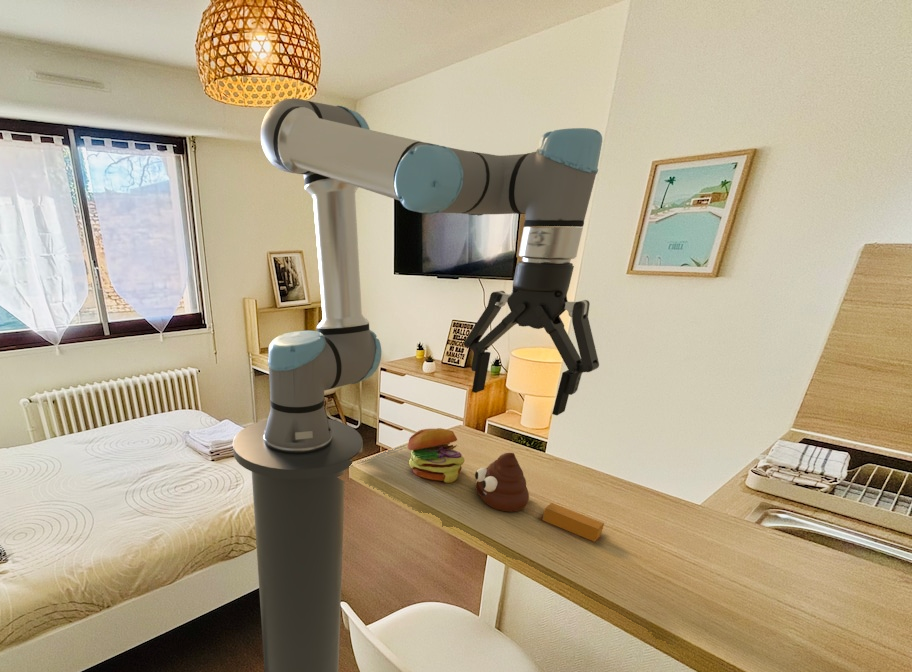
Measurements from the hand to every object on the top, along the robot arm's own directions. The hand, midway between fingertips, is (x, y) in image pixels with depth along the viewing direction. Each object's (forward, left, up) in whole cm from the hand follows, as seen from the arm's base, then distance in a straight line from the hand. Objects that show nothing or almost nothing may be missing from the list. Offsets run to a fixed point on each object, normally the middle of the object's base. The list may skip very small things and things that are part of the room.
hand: (515, 401), depth 76 cm
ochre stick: (+13, -1, -18) cm, 22 cm away
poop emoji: (+1, -1, -18) cm, 18 cm away
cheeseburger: (-13, -1, -18) cm, 22 cm away
